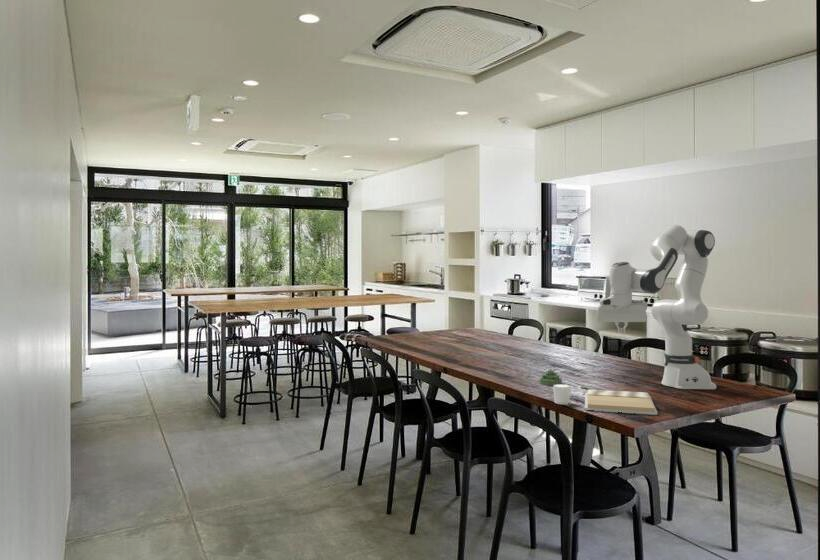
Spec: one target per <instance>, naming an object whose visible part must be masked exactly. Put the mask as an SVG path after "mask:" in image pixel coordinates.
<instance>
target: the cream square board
mask: <svg viewBox="0 0 820 560" xmlns="http://www.w3.org/2000/svg"><path fill="white" fill-rule="evenodd" d="M587 410H594V411H593V412H602V411H603V412H606V413H618V412H620V413H621V412H622V413H621V414H634V413H635V414H637V415H651V416H652V415H653V416H657V415H658V413H659V412H658V410H657V408H656V406H655V403H654V401H653V399H652V397H651V396H650V399H648V398H630V397H612V396H594V395H588V398H587V392H584V411H587Z"/></svg>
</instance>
